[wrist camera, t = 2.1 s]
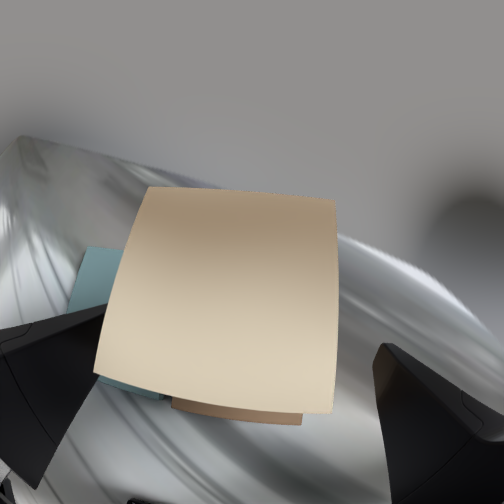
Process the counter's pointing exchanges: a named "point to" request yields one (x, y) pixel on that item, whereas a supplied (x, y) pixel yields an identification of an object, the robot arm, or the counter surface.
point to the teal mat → (101, 296)
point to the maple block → (227, 300)
